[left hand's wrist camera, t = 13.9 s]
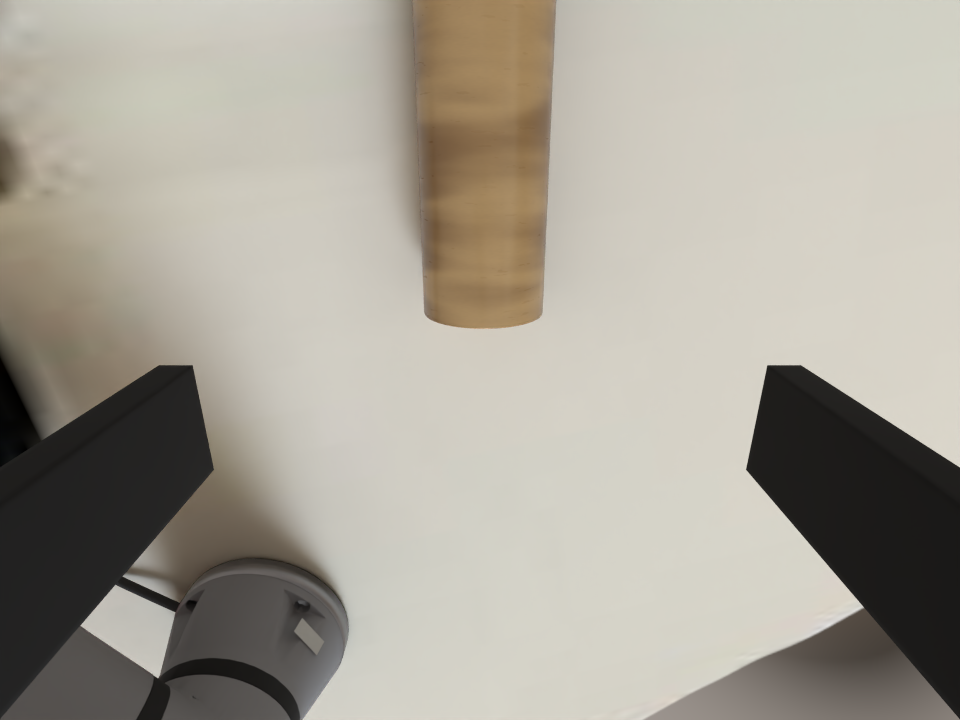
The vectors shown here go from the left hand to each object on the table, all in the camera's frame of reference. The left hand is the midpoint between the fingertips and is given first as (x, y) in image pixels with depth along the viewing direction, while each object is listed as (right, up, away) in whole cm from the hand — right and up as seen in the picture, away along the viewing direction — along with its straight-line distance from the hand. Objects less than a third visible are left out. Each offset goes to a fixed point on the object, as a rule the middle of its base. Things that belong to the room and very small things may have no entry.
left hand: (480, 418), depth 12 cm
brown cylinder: (0, +17, +22) cm, 28 cm away
